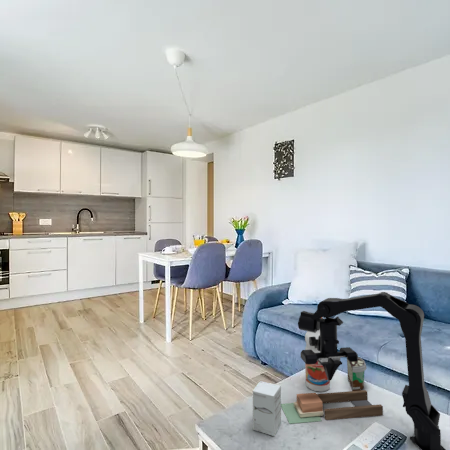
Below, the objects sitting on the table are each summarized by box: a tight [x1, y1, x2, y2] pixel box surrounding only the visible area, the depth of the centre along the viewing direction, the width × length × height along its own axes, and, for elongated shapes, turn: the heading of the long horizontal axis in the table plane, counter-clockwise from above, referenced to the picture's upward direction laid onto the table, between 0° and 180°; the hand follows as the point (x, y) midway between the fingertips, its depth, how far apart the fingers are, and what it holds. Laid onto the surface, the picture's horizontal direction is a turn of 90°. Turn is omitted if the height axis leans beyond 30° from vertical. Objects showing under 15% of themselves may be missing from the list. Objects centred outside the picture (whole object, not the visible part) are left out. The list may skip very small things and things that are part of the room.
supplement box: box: [252, 380, 282, 437], centre depth 98 cm, size 7×7×13 cm
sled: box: [293, 392, 324, 418], centre depth 105 cm, size 7×8×4 cm
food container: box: [346, 356, 367, 391], centre depth 122 cm, size 12×6×10 cm, turn 168°
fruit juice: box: [304, 329, 331, 393], centre depth 122 cm, size 9×9×28 cm
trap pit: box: [350, 400, 373, 407], centre depth 107 cm, size 7×6×1 cm
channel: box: [316, 389, 384, 421], centre depth 107 cm, size 10×20×3 cm, turn 96°
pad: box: [281, 402, 323, 425], centre depth 105 cm, size 11×11×1 cm
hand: (329, 379), depth 106 cm, fingers closed
